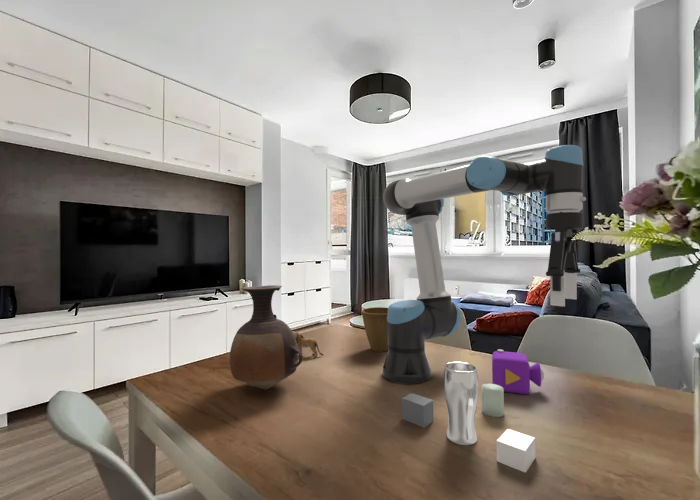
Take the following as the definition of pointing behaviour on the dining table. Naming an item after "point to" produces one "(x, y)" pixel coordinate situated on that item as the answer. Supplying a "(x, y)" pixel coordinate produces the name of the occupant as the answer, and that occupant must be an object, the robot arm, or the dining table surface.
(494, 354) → the toy camera
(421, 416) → the charcoal block
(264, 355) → the vase
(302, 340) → the lion figurine
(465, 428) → the beer glass
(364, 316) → the plant pot
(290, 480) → the dining table surface
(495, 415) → the sage cylinder
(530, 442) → the off-white brick
